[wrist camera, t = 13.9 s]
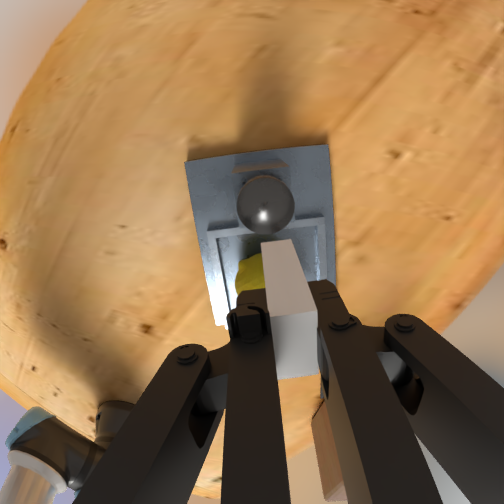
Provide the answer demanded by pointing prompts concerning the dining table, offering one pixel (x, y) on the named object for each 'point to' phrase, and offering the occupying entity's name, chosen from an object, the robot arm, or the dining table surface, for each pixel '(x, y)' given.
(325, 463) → the wooden block
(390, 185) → the dining table surface
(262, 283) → the lemon
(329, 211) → the base
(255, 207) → the ball
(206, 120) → the dining table surface
